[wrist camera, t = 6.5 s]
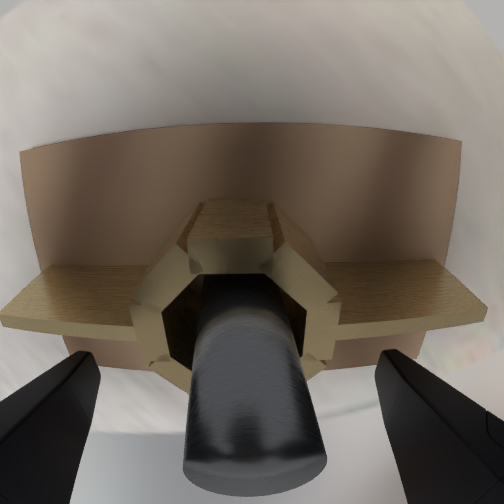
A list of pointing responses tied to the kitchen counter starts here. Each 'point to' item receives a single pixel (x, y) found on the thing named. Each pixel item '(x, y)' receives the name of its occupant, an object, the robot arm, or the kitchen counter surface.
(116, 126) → the kitchen counter surface
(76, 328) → the brass hinge
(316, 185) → the walnut board
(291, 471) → the hinge pin
